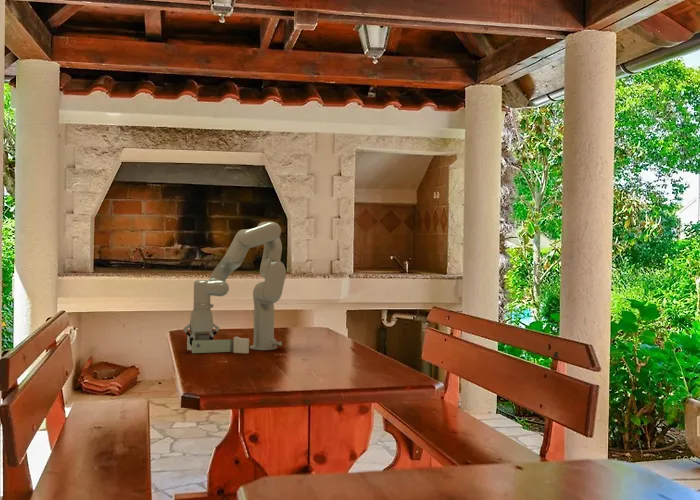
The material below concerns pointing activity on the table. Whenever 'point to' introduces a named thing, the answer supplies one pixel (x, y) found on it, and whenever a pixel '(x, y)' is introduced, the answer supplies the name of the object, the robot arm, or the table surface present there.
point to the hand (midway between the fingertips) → (201, 345)
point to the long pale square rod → (212, 346)
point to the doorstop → (203, 336)
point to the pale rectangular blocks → (239, 345)
